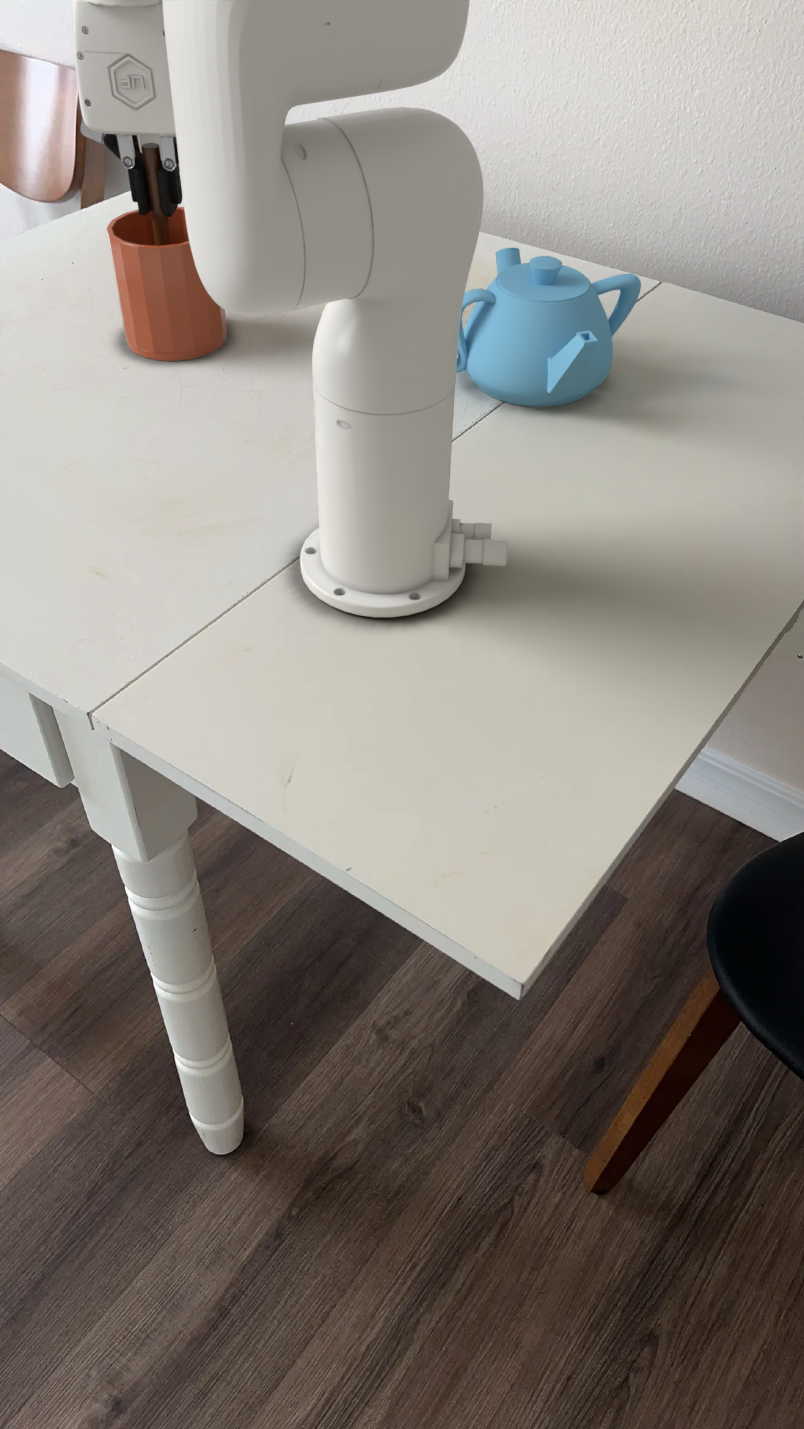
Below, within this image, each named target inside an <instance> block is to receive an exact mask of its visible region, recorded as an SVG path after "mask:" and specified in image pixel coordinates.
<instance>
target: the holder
mask: <svg viewBox="0 0 804 1429" xmlns="http://www.w3.org/2000/svg"><path fill="white" fill-rule="evenodd" d="M169 222H170V230H171V238H172V245H163V246H155V239H154V232H153V225H152V218H151V211H149V213H148V214H146V216H144V215H139V210H138V209H135V210H131V211H127V212H124V213H122V214H120V215H119V216H117V217H114V218H113V219H112V220H110V222H109V223H108V225H107V227H106V233H107V240H108V247H109V251H110V258H111V262H112V269H113V275H114V281H115V285H116V286H115V287H116V291H117V298H118V304H119V309H120V315H121V321H122V326H123V332H124V335H125V340H126V345H127V347H128V348H129V349H130V351H132V352H133V353H134V354H137V355H138V356H139V357H143V358H146V359H150V360H155V361H164V362H176V361H177V362H180V361H189V360H193V359H197V358H201V357H204V356H207V355H209V354H211V353H213V352H216V351H217V350H218V349H220V348H221V347H222V346H223V345H224V343H225V342H226V340H227V336H228V334H227V328H228V325H227V318H226V317H227V316H226V310H224V309H223V308H221V307H220V306H219V305H218V304H217V303H215V301H214V300H213V299H212V298H211V296H210V295H209V294H208V292H207V291H206V289H205V287H204V285H203V284H202V281H201V279H200V277H199V274H198V272H197V269H196V266H195V263H194V259H193V255H192V251H191V247H190V243H189V237H188V232H187V226H186V218H185V211H184V206H178V207H177V209H176V210H175V212H174V214H173V215H172V217H169Z"/></svg>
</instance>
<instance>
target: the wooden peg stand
mask: <svg viewBox="0 0 804 1429" xmlns="http://www.w3.org/2000/svg"><path fill="white" fill-rule="evenodd" d="M141 150H142V155H143V162H144V169H145V176H146V183H147V190H148V197H149V204H150V211H151V218H152V225H153V232H154V239H155V246H163V245H172V238H171V230H170V222H169V217H166V216H165V215H164V214H163V208H162V201H161V193H160V186H159V179H158V171H159V170H160V168H161V161H162V156H161V146H160V144H158V143H155V142H146V143H143V144H141Z"/></svg>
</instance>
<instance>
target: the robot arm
mask: <svg viewBox="0 0 804 1429" xmlns="http://www.w3.org/2000/svg"><path fill="white" fill-rule="evenodd" d="M71 3H72V4H71V6H72V8H71V14H72V15H71V16H72V17H71V18H72V39H73V40H72V41H73V54H74V66H75V75H76V85H77V86H76V87H77V93H78V101H79V106H80V112H81V116H82V117H81V122H80V129H79V131H80V133H81V135H82V136H83V137H84V138H87V139H89V140H92V141H94V142H96V143H99V144H103V145H105V147H106V148H107V149H108V150H109V151H110V152H112V153H113V155H114V156H116V157H117V158H118V159H119V160H120V162H121V165H122V167H123V168H125V169H126V170H127V173H128V174H127V175H128V181H129V188H130V194H131V200H132V202H133V203H137V210H139V215H144V216H146V214H148V213H149V211H150V204H149V197H148V190H147V183H146V176H145V169H144V162H143V155H142V148H141V146H142V144H141V138H140V136H145V137H150V136H151V137H159V146H160V154H161V168H160V170H159V171H158V179H159V186H160V193H161V201H162V208H163V214H164V215H165V216H166V217H172V215H173V214H174V212H175V210H176V209H177V207H179V205H181V204H182V202H183V207H184V211H185V218H186V226H187V232H188V237H189V243H190V247H191V251H192V255H193V259H194V263H195V266H196V269H197V272H198V274H199V277H200V279H201V281H202V284H203V285H204V287H205V289H206V291H207V292H208V294H209V295H210V296H211V298H212V299H213V300H214V301H215V303H217V304H218V305H219V306H220V307H221V308H223V309H224V310H225V312H227V313H229V314H232V315H235V316H238V317H243V318H261V317H269V316H274V315H275V316H276V315H279V314H284V313H289V312H293V311H294V312H295V311H298V310H302V309H303V310H304V309H307V308H311V307H317V306H320V305H324V308H323V311H322V313H321V315H320V317H319V321H318V324H317V328H316V332H315V336H314V340H313V344H312V345H313V346H312V352H311V353H312V355H311V372H312V373H311V375H312V397H313V419H314V442H315V443H314V444H315V462H316V463H315V464H316V486H317V505H318V508H317V509H318V527H317V528H315V529H314V530H312V532H311V533H310V534H309V535H308V537H307V538H306V539H305V541H304V542H303V545H302V546H301V549H300V556H299V562H300V564H299V565H300V573H301V576H302V579H303V583H305V585H306V586H307V588H308V589H309V591H310V592H311V593H312V594H313V595H315V596H316V597H317V598H318V599H319V600H320V601H322V602H324V603H326V604H327V605H328V606H330V607H332V608H335V609H338V610H340V611H343V612H345V613H349V614H352V615H355V616H356V615H357V616H360V617H370V618H398V617H407V616H410V615H411V616H412V615H414V614H417V613H422V612H425V611H428V610H429V609H432V608H435V607H437V606H438V605H441V603H443V602H445V601H446V600H448V599H449V598H450V597H451V596H452V595H453V594H455V592H457V590H458V589H459V587H460V586H461V584H462V582H463V580H464V577H465V574H466V564H478V565H481V566H494V567H495V566H496V567H507V560H508V544H509V542H508V539H493V538H492V526H493V524H492V523H490V522H489V523H488V522H475V523H473V522H461V518H453V516H454V515H453V513H454V512H453V511H454V500H452V499H450V488H451V486H450V484H451V468H452V451H453V450H452V448H453V434H454V432H453V430H454V415H455V396H456V383H457V382H456V381H457V373H456V368H457V358H458V354H457V352H458V339H459V328H460V320H461V311H462V305H463V299H464V293H465V292H466V287H467V283H468V279H469V274H470V270H471V266H472V263H473V259H474V255H475V252H476V248H477V243H478V239H479V235H480V231H481V225H482V220H483V211H484V196H485V194H484V193H485V192H484V191H485V190H484V178H483V172H482V167H481V163H480V159H479V157H478V154H477V151H476V149H475V147H474V145H473V143H472V141H471V140H470V138H469V137H468V135H467V134H466V133H465V131H463V129H462V128H461V127H460V126H459V125H458V124H457V123H455V122H454V121H452V120H451V119H450V118H448V117H446V116H444V115H442V114H440V113H438V112H435V111H432V110H430V109H427V108H426V109H425V108H419V107H406V106H398V107H397V106H396V107H383V108H382V107H381V108H374V109H368V110H367V109H366V110H361V111H354V112H348V113H343V114H336V115H329V116H323V117H318V118H316V119H313V120H306V121H301V122H300V121H299V122H293V123H287V124H286V121H287V118H288V117H287V116H288V114H289V112H290V110H291V109H292V108H294V107H297V106H303V105H310V104H316V103H323V102H324V103H325V102H329V101H336V100H342V99H349V98H356V97H361V96H362V97H363V96H368V95H374V94H379V93H385V92H386V93H387V92H392V91H397V90H401V89H407V88H410V87H411V88H412V87H414V86H418V85H421V84H425V83H428V82H430V81H432V80H434V79H436V78H438V77H440V76H441V75H443V74H444V73H445V72H446V71H447V70H449V69H450V67H451V66H452V64H453V63H454V62H455V60H456V59H457V58H458V55H459V53H460V51H461V48H462V45H463V42H464V39H465V34H466V31H467V30H466V29H467V25H468V18H469V11H470V3H471V0H72V2H71ZM491 538H492V539H491Z"/></svg>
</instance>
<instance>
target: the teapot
mask: <svg viewBox="0 0 804 1429" xmlns="http://www.w3.org/2000/svg"><path fill="white" fill-rule="evenodd" d="M495 260H496V262H495V263H496V273H497V274H496V277H495V278H494V279H493V280H492V281H491V282H490V283H489V284H488V286H487V287H486V288H485V289H484V288H474V289H470V290H467V291H465V293H464V299H463V305H462V311H461V320H460V328H459V339H458V352H457V368H456V374H457V373H462V372H463V371H465V372H466V374H467V375H468V376H469V378H470V379H471V380H472V381H473V383H474V384H475V385H476V386H477V387H478V388H479V389H480V390H481V391H482V392H484V394H486V395H488V396H490V397H492V398H493V399H496V400H499V401H500V402H501V401H502V402H504V403H507V404H512V405H515V406H516V405H517V406H520V407H521V406H522V407H530V408H549V407H558V406H564V405H568V404H571V403H574V402H577V401H579V400H581V399H583V398H584V397H586V396H587V395H589V394H590V393H591V392H593V391H594V390H596V388H598V387H599V386H600V385H601V384H602V383H603V382H604V381H605V380H606V378H607V377H608V375H609V373H610V372H611V369H612V365H613V357H614V356H613V355H614V348H613V347H614V346H613V337H614V336H615V334H616V333H617V332H618V330H619V329H620V327H621V326H622V325H623V323H624V322H625V321H626V319H627V318H628V316H629V315H630V313H631V311H633V309H634V307H635V306H636V303H637V301H638V299H639V296H640V293H641V289H642V282H641V279H640V277H639V276H638V275H635V274H633V273H621V274H615V275H612V276H608V277H606V278H602V279H599V280H597V281H595V282H591V280H590V279H589V278H588V277H587V276H586V274H584V273H583V272H581V271H579V270H577V268H576V269H575V268H573V267H571V266H568V265H563V261H561V260H560V259H559V258H558V257H557V258H556V257H555V256H551V255H539V256H535V257H532V258H531V259H529V262H522V259H521V253H520V248H518V247H505V248H501V249H499V250H497V251H495ZM618 290H619V296H618V299H617V302H616V304H615V306H614V309H613V310H612V312H611V314H610V315H609V317H608V315H607V313H606V310H605V308H604V305H603V304H602V301H601V299H600V297H599V296H600V295H604V294H606V293H609V292H613V291H618ZM474 303H475V304H474ZM472 304H474V306H473V308H472V310H471V312H470V313H469V315H468V318H467V320H466V322H465V326H464V328H463V314H464V311H465V310H466V308H468V306H470V305H472Z"/></svg>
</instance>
